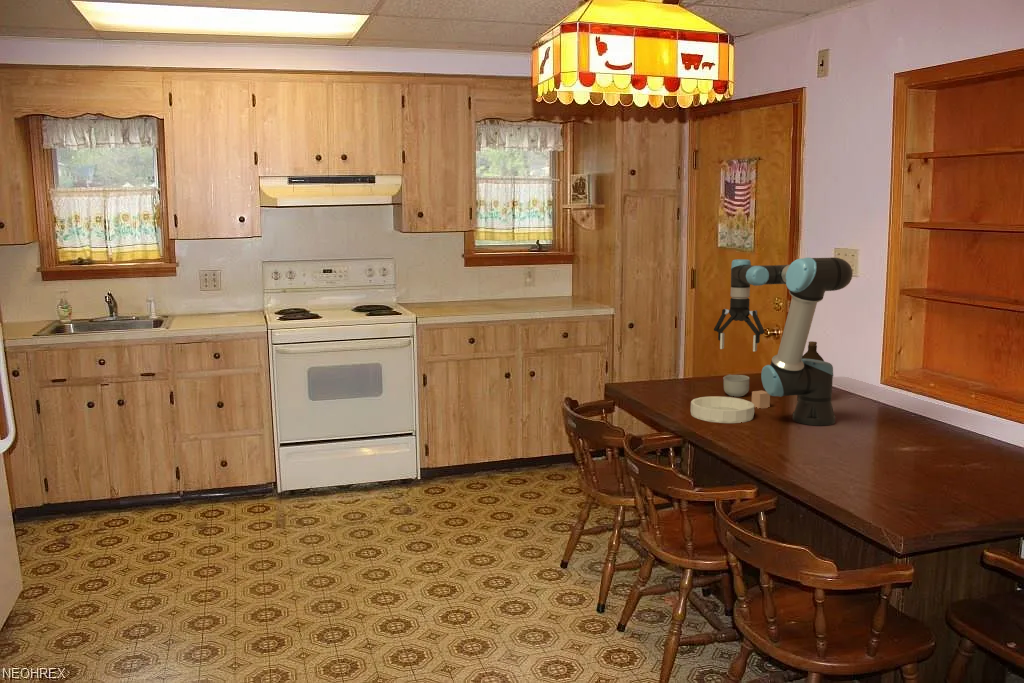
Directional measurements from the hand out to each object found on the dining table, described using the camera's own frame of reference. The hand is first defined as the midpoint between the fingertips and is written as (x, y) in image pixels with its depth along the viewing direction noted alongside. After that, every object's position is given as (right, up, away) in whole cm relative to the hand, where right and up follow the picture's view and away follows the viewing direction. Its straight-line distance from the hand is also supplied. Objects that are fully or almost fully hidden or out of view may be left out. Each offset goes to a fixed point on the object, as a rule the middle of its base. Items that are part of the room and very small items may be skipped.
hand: (738, 350), depth 355 cm
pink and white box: (+8, -23, -4) cm, 24 cm away
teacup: (+3, -19, +18) cm, 27 cm away
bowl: (-11, -25, -18) cm, 33 cm away
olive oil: (+30, -22, +5) cm, 38 cm away
